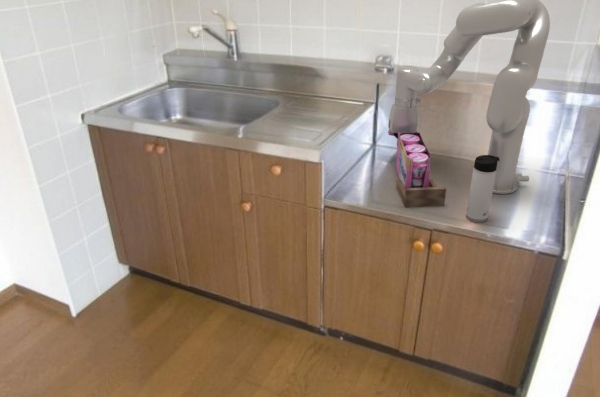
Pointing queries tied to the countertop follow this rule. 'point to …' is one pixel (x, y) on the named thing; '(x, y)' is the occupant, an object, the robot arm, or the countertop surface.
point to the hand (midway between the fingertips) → (401, 149)
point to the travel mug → (481, 188)
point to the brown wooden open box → (422, 195)
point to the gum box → (413, 160)
